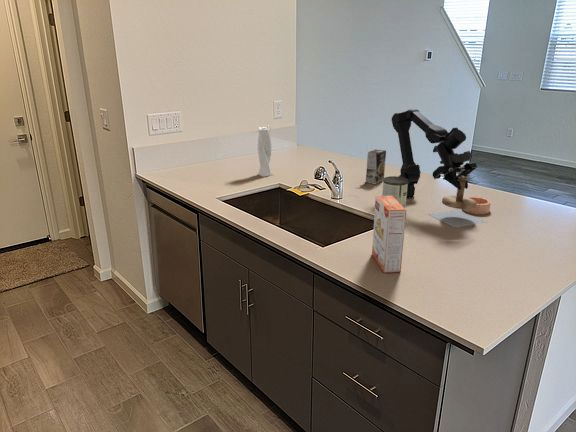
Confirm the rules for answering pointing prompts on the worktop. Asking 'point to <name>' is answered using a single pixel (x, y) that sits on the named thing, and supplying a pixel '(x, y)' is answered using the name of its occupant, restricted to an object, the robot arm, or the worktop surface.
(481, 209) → the bowl
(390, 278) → the worktop surface
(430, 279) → the worktop surface
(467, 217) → the mat
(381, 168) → the coffee box
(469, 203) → the lid
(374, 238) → the cracker box
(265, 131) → the skyscraper
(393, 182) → the coffee can
